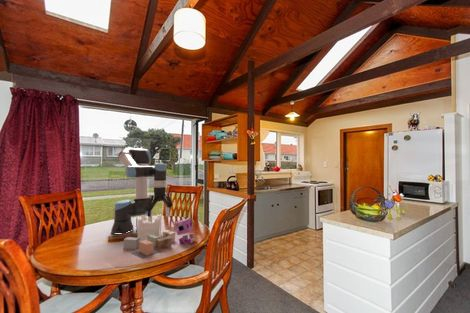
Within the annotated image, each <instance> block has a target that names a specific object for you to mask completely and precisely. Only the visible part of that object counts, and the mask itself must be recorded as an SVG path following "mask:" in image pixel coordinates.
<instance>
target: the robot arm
mask: <svg viewBox="0 0 470 313" xmlns="http://www.w3.org/2000/svg"><path fill="white" fill-rule="evenodd" d="M117 158H118V161H119V163H121V164H122V165H123V166H124V168H125V176H126V178H132V179H133V178H135V197H133V201H132V199H122V200H118V201H116V202H115V204H114V209H113V210H114V213H113V217H114V218H113V225H112V227H111V230H110V233H111V234H112V233H126V232H128V231H131V230H133V231H134V225H133V222H132V217H138V216H142V215H146V216H147V219H148V221H149V222H152V219H153V209H154V207H155V206H156V204H157V203H158V202H163V204H164V205H165V206H166V207H165V217H166V218H170V213H171V208H172V206H174V204H173V202H172V199H171V197H170V193H169V192H166V191H167V187H166V186H167V164H166V163H161V162H160V163H157V162H156V163H154V165H149V164H150V163H151V162H152V155H151V152H150V150H149V149H148V148H146V149H145V148H134V147H133V148H131V147H130V148H124V149H123V150H121V151H120V152H119V153H118V155H117ZM148 178H153V194H150V195H149V196H148Z"/></svg>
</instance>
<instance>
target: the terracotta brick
mask: <svg viewBox="0 0 470 313" xmlns="http://www.w3.org/2000/svg"><path fill="white" fill-rule="evenodd" d="M153 244H154V243H153V242H150V241H147V240H143V241H140V242H139V247H138V248H139V249H138V251H139V252H140V253H143V254H145V255H150V254H152V253H153V249H154V247H153Z"/></svg>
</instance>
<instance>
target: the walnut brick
mask: <svg viewBox="0 0 470 313" xmlns="http://www.w3.org/2000/svg"><path fill="white" fill-rule="evenodd" d="M171 247H172V242H171V237H169V236H168V237H164V238H163V237H161V238H159V239H157V243H156V247H155V249H156V250H158V251H161V250H165V249H168V248H171Z"/></svg>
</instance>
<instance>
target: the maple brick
mask: <svg viewBox="0 0 470 313" xmlns="http://www.w3.org/2000/svg"><path fill="white" fill-rule="evenodd" d="M168 236H169V237H171V243H173V242H175V241H176V232H175V231H172V230H167V229H166V230H163V231H162V238H164V237H168Z"/></svg>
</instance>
